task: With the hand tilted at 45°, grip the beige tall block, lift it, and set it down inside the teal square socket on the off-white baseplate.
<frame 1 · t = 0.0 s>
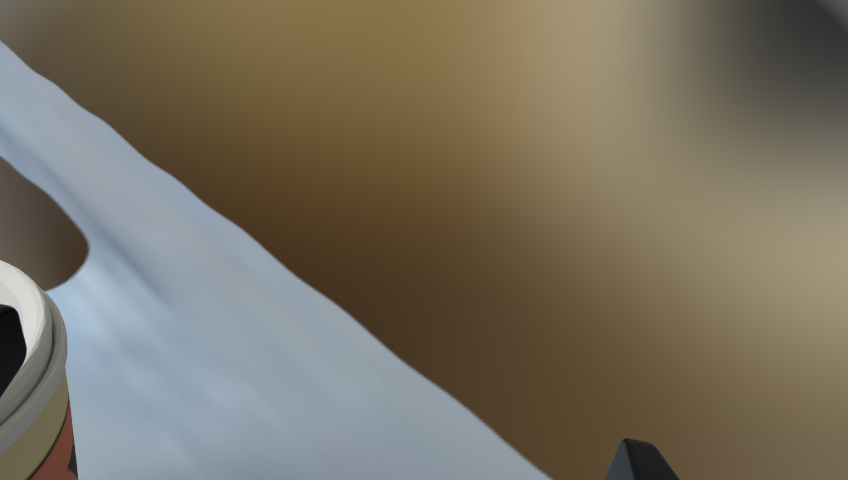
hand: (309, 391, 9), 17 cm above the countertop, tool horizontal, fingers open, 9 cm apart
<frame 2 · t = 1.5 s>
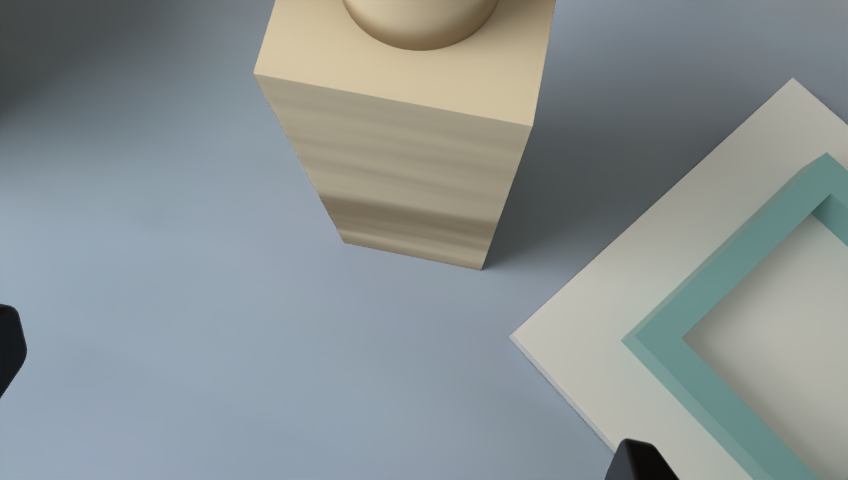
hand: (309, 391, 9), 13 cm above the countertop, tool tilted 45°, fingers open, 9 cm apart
baseplate: (800, 355, 22), on the countertop
beige tall block: (426, 191, 23), on the countertop
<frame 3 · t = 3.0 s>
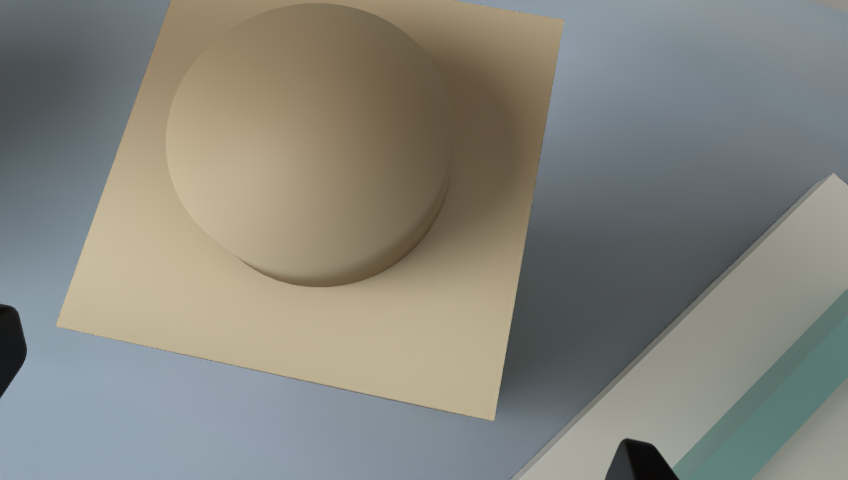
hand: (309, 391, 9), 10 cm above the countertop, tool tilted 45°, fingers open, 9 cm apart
beige tall block: (389, 311, 19), on the countertop
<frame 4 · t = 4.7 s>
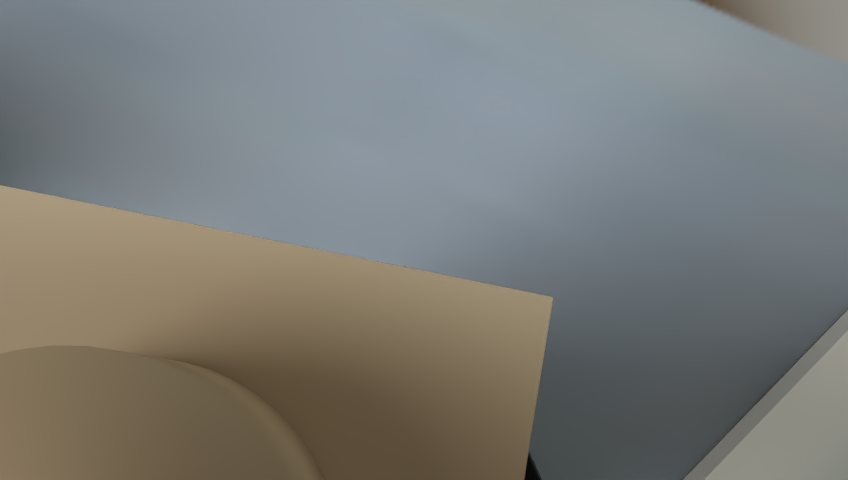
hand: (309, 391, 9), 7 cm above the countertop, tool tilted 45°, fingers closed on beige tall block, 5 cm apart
beige tall block: (349, 454, 16), on the countertop, touching gripper
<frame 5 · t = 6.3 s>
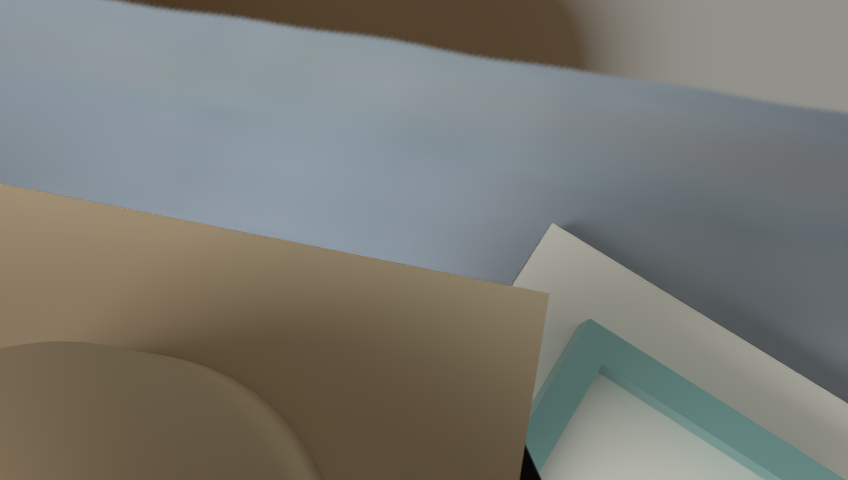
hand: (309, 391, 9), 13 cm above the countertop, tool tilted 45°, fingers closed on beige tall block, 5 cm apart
beige tall block: (348, 453, 16), point 5 cm above the countertop, touching gripper
when the fingers open (9 cm above the countertop, at t = 8.1 s): beige tall block drops 1 cm, resting on baseplate.
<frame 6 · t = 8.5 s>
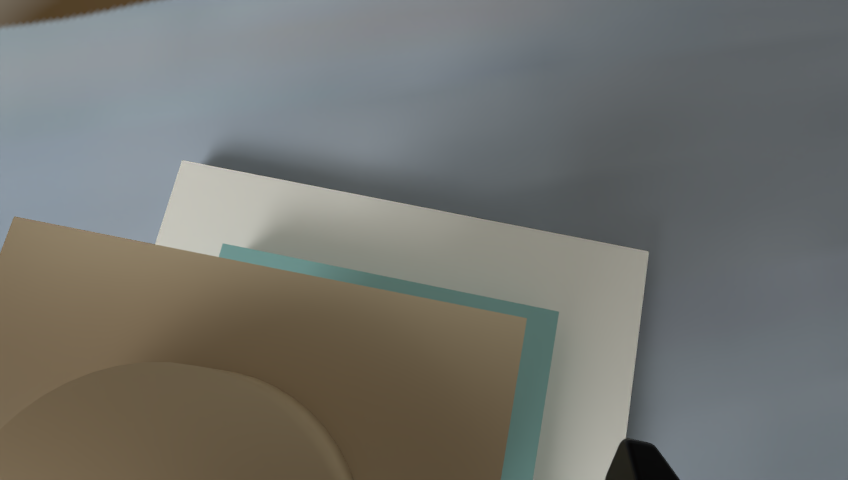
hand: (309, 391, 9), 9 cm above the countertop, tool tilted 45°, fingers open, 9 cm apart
baseplate: (359, 447, 18), on the countertop
beige tall block: (354, 450, 17), point 1 cm above the countertop, touching baseplate
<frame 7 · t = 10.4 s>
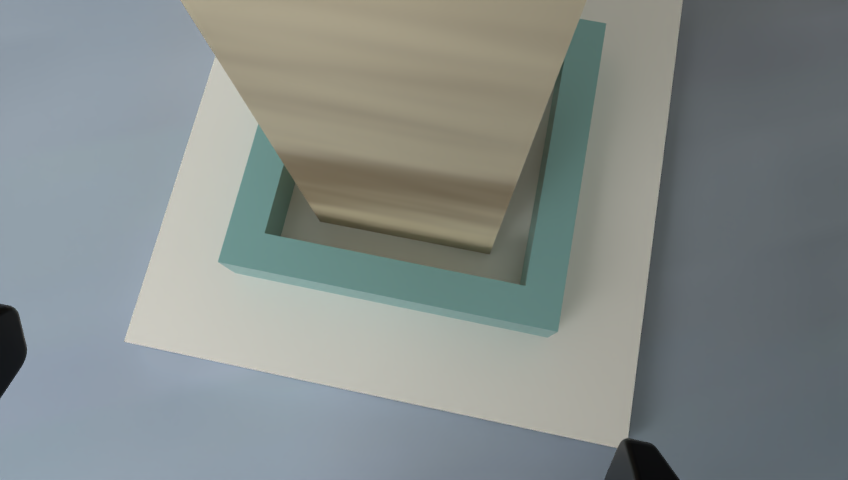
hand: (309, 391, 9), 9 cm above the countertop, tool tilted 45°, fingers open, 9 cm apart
baseplate: (422, 169, 20), on the countertop
beige tall block: (421, 158, 19), point 1 cm above the countertop, touching baseplate
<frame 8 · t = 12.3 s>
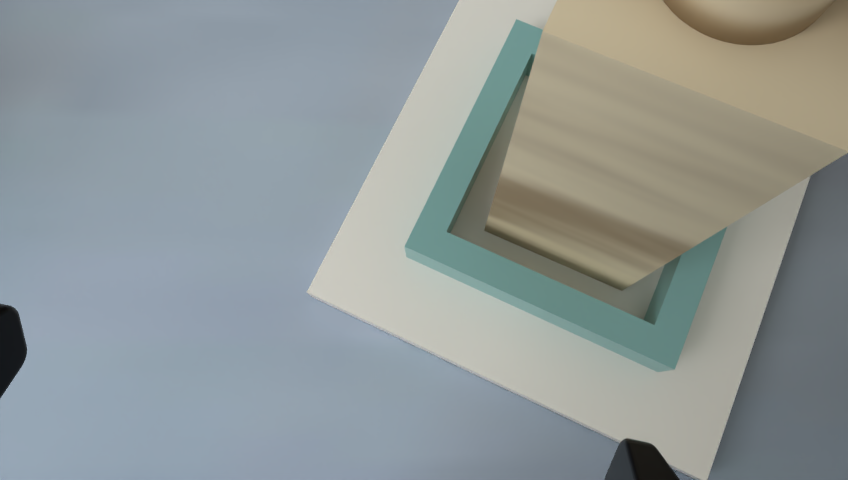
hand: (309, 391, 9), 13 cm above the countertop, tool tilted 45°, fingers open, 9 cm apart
baseplate: (573, 204, 23), on the countertop
beige tall block: (579, 196, 22), point 1 cm above the countertop, touching baseplate
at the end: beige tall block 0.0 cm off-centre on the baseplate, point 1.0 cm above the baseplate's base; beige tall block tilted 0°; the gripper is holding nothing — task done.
